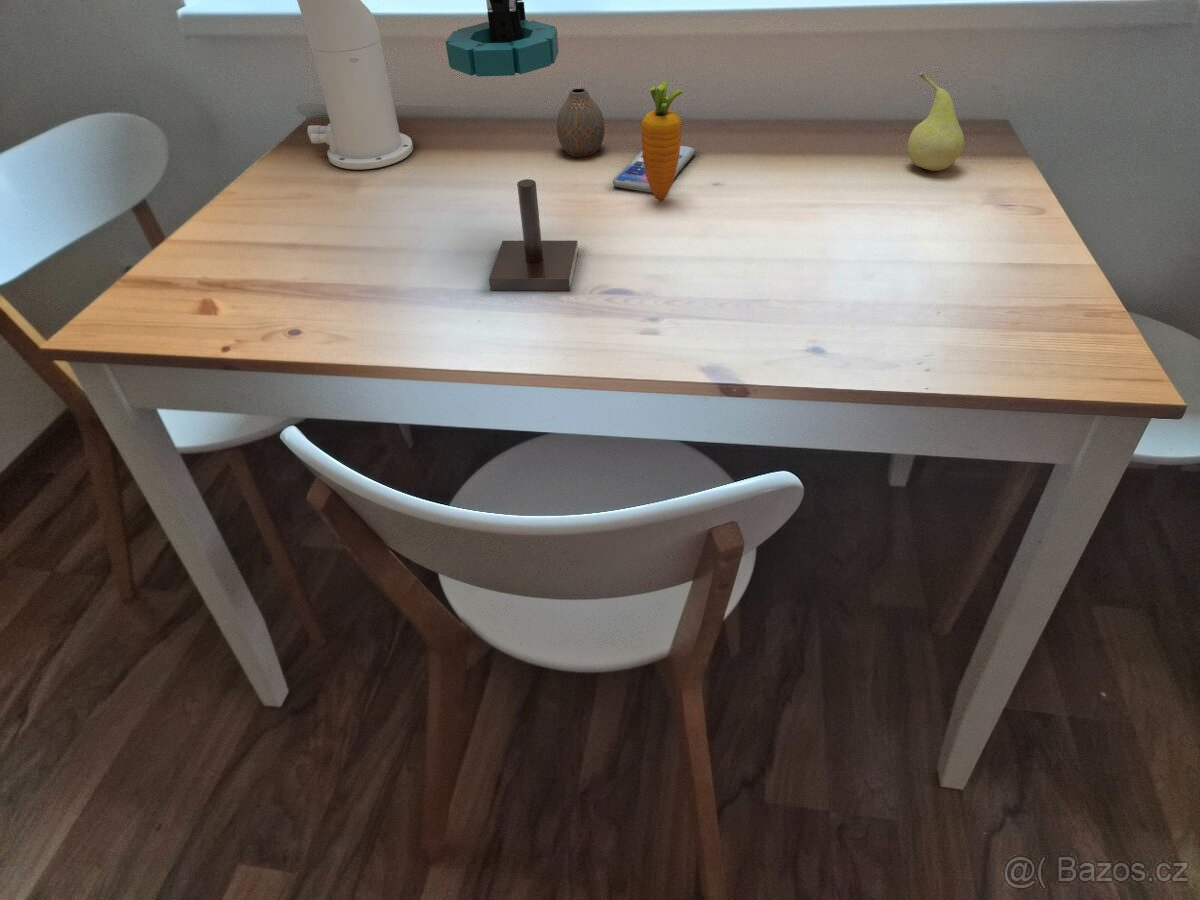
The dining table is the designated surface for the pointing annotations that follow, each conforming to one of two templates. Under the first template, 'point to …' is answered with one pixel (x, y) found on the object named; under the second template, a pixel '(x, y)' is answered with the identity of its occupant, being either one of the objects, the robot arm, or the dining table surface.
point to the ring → (502, 50)
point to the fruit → (936, 134)
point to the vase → (580, 124)
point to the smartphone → (636, 175)
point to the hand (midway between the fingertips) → (510, 46)
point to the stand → (533, 253)
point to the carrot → (661, 142)
